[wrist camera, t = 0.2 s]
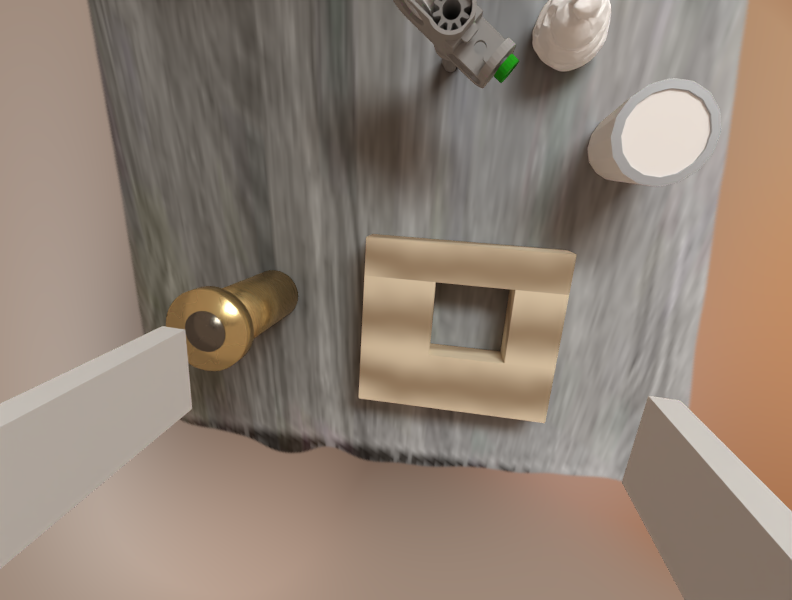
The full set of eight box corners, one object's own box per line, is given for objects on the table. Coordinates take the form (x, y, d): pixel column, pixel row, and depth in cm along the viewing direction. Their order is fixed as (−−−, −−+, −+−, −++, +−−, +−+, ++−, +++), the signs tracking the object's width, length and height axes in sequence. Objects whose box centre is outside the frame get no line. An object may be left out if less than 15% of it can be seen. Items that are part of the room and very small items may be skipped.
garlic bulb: (592, -67, 25) (653, -8, 25) (566, -18, 31) (616, 30, 31) (530, 11, 27) (588, 66, 27) (516, 44, 32) (564, 89, 33)
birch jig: (372, 234, 38) (366, 237, 35) (566, 250, 36) (576, 254, 33) (364, 384, 42) (358, 398, 39) (538, 406, 40) (544, 422, 37)
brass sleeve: (244, 260, 40) (161, 286, 29) (304, 266, 40) (243, 294, 28) (246, 319, 42) (168, 366, 30) (304, 326, 41) (246, 376, 30)
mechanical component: (482, 118, 34) (494, 87, 24) (395, 33, 33) (372, -33, 24) (507, 89, 33) (530, 45, 24) (419, 2, 33) (405, -80, 23)
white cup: (684, 119, 32) (745, 98, 25) (640, 200, 34) (686, 201, 27) (604, 90, 32) (644, 61, 26) (565, 172, 34) (592, 166, 28)
